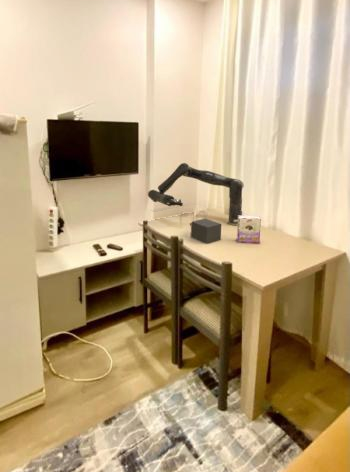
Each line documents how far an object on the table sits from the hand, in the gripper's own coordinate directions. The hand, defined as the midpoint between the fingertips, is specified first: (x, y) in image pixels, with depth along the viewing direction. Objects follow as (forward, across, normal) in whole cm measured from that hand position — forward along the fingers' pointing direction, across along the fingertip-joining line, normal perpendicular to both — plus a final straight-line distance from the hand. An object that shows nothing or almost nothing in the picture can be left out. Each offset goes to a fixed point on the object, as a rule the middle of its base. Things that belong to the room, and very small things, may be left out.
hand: (181, 204), depth 226 cm
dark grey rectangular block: (+25, 0, +18) cm, 30 cm away
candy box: (+45, +18, +18) cm, 51 cm away
